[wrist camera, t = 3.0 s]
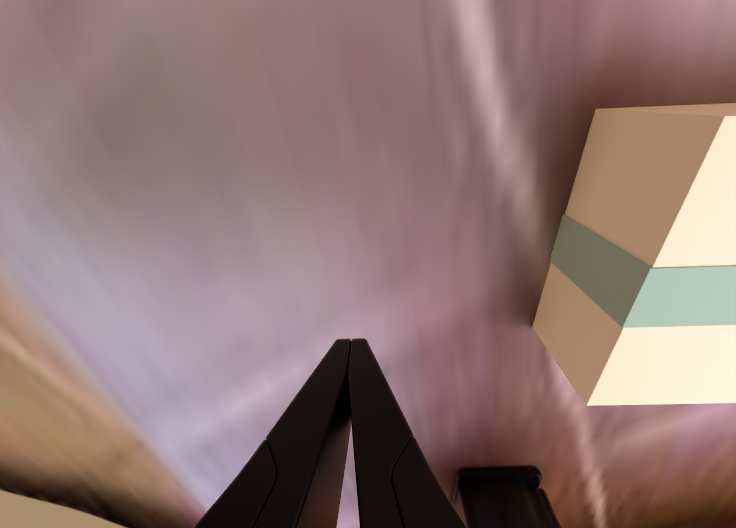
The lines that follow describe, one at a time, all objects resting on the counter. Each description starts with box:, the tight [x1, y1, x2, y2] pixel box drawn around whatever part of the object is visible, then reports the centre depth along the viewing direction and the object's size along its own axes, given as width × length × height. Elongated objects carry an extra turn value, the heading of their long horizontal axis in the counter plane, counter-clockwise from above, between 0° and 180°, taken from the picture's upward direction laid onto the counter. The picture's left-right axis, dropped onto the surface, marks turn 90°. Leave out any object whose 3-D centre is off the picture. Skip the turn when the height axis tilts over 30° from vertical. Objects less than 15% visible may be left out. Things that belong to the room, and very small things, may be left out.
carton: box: [532, 103, 736, 406], centre depth 12 cm, size 11×11×5 cm
